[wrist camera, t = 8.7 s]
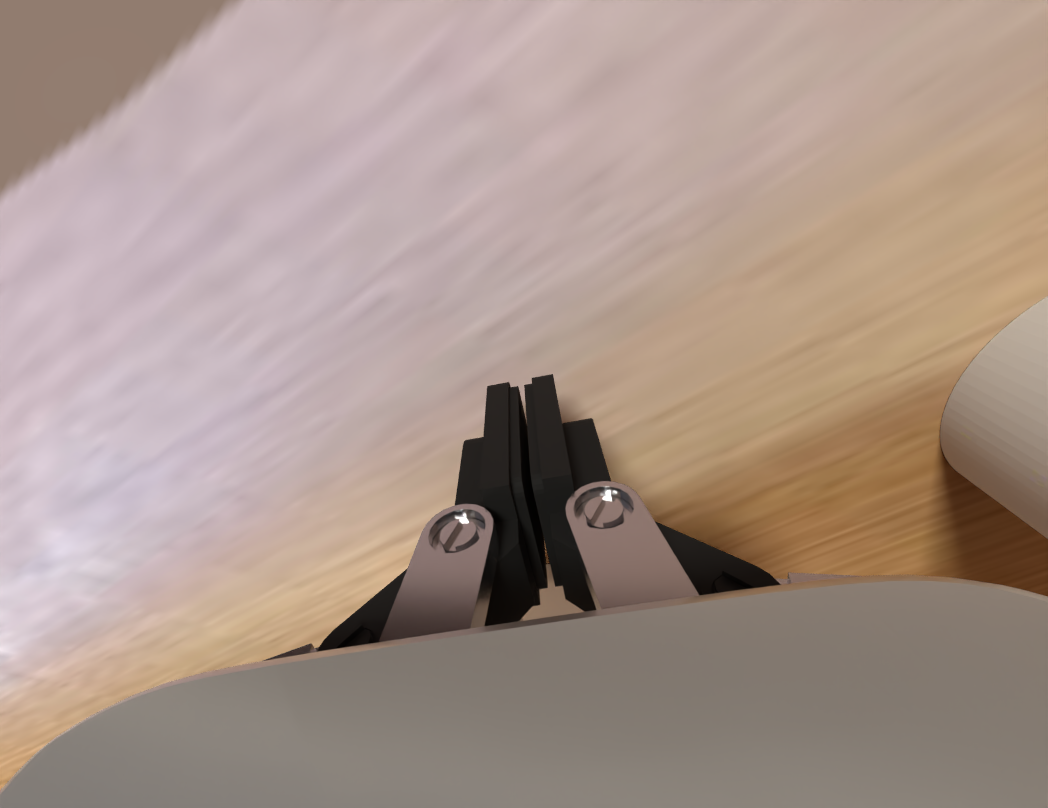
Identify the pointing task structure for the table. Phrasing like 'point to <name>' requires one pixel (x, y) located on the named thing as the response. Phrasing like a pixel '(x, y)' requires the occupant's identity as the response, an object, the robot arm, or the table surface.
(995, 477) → the white cylinder
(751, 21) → the table surface
